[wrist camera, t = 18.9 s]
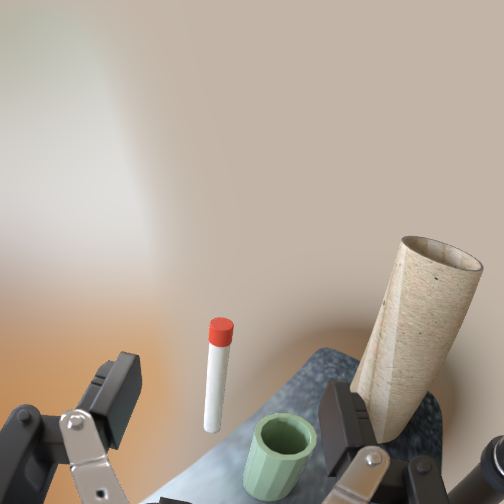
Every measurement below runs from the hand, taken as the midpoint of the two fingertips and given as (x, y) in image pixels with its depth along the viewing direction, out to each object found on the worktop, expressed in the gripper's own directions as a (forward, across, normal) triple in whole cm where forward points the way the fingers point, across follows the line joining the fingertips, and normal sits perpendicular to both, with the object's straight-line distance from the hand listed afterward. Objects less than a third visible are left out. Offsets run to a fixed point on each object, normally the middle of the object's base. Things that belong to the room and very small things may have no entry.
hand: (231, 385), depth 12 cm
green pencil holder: (+8, -5, +23) cm, 25 cm away
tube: (+18, -20, +24) cm, 36 cm away
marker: (+15, +2, +23) cm, 28 cm away
